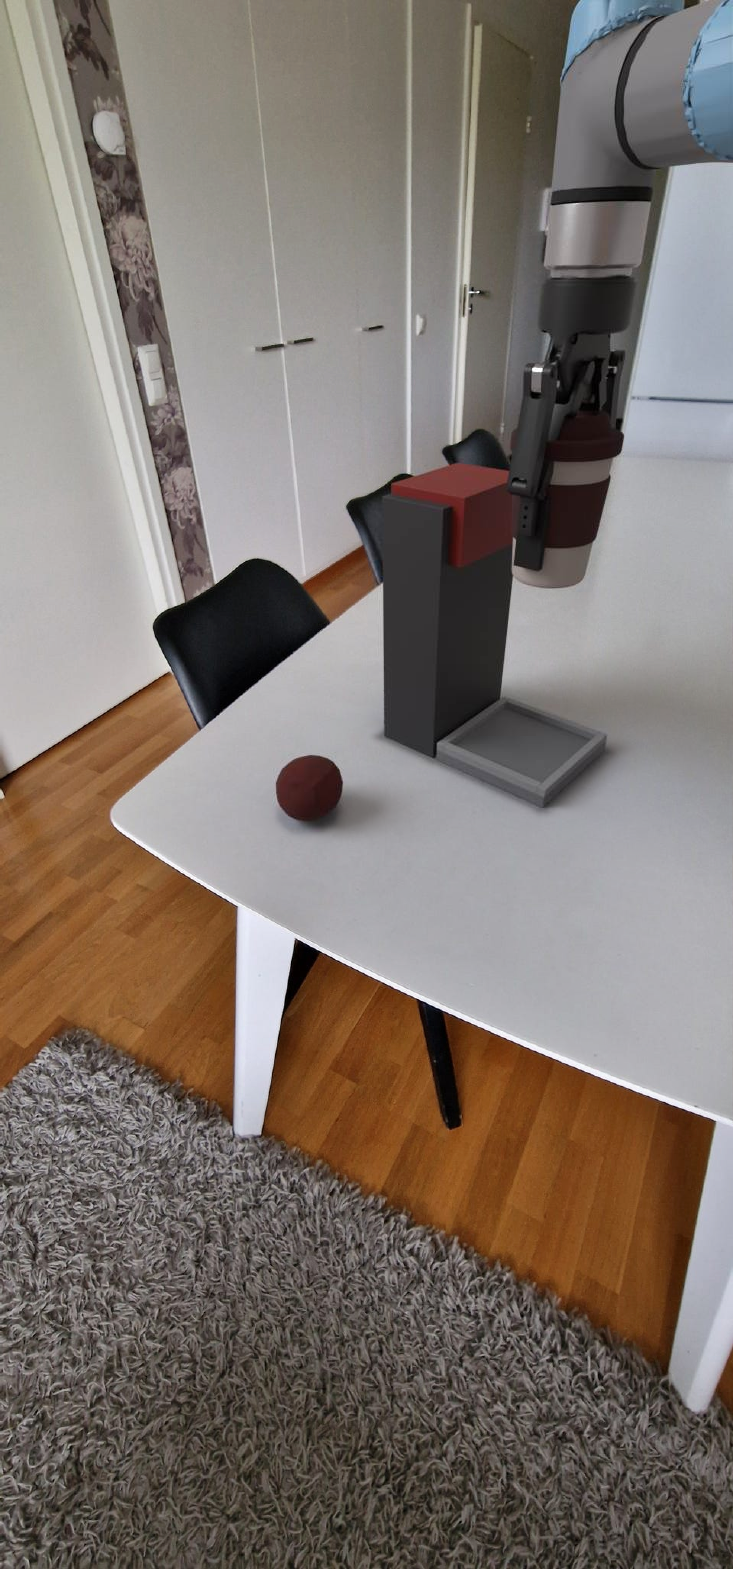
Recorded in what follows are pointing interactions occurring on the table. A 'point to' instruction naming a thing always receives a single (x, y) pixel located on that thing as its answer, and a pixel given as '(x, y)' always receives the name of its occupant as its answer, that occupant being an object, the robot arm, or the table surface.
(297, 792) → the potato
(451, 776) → the table surface
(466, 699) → the coffee machine
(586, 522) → the coffee cup
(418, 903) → the table surface
